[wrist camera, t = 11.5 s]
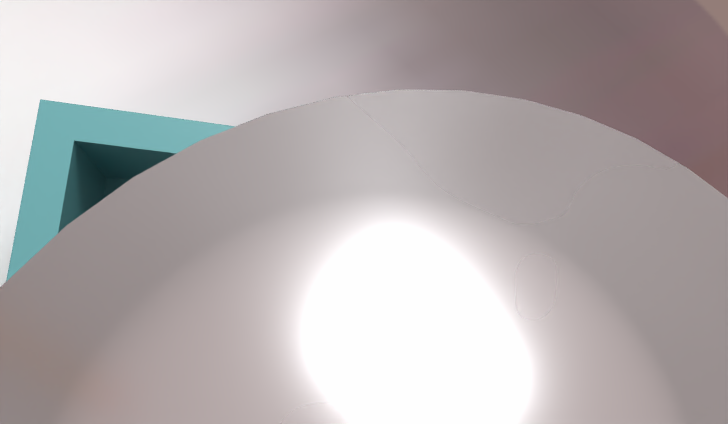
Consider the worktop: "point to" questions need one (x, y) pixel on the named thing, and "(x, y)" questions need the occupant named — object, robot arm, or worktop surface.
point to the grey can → (383, 277)
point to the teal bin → (89, 164)
